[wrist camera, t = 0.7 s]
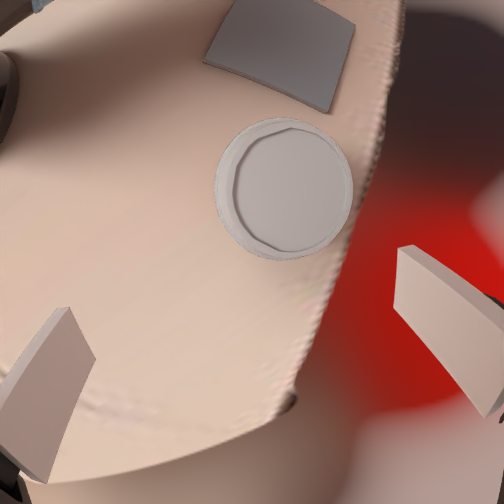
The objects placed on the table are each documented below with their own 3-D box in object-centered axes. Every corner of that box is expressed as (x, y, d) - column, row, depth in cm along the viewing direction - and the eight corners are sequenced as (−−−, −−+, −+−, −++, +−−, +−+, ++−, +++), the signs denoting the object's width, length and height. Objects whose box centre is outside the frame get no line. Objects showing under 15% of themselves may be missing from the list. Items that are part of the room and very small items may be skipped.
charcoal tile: (202, 62, 24) (203, 58, 23) (249, -22, 22) (251, -26, 21) (323, 113, 29) (328, 111, 28) (351, 27, 26) (355, 25, 25)
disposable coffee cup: (297, 147, 29) (366, 135, 18) (284, 235, 31) (344, 269, 20) (207, 131, 26) (230, 99, 15) (194, 226, 28) (207, 260, 17)
